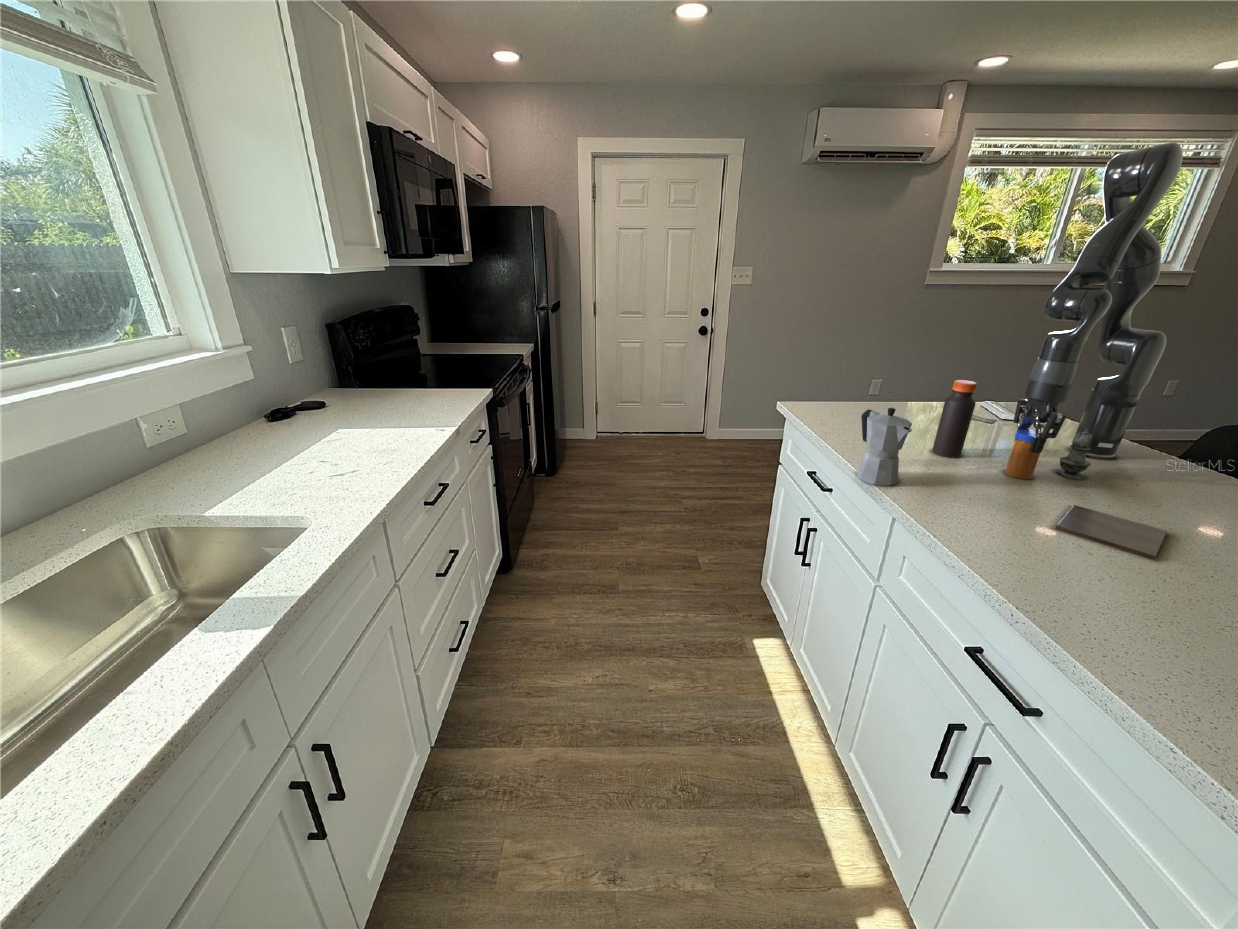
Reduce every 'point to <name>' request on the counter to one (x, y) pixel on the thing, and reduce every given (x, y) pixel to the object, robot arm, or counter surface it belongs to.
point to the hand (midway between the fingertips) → (1027, 447)
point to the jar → (1021, 460)
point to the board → (1113, 531)
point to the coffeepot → (882, 446)
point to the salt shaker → (1076, 457)
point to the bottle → (955, 420)
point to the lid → (1025, 435)
